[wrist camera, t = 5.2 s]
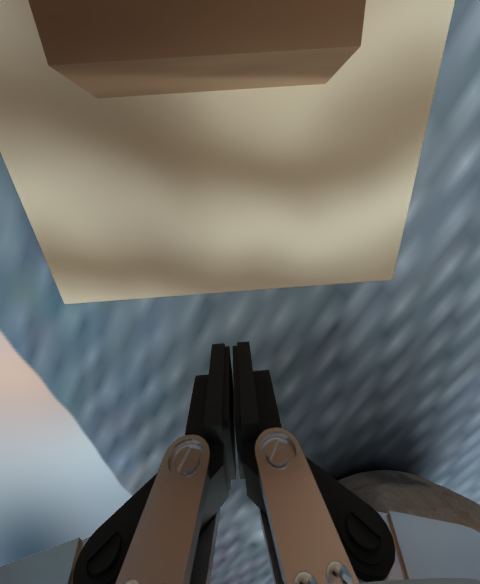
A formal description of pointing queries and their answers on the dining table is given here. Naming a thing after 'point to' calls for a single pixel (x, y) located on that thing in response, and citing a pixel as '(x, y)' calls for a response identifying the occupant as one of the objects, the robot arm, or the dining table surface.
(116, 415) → the dining table surface
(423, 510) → the ceramic bowl
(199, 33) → the tile stand
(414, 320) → the dining table surface
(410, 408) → the dining table surface
